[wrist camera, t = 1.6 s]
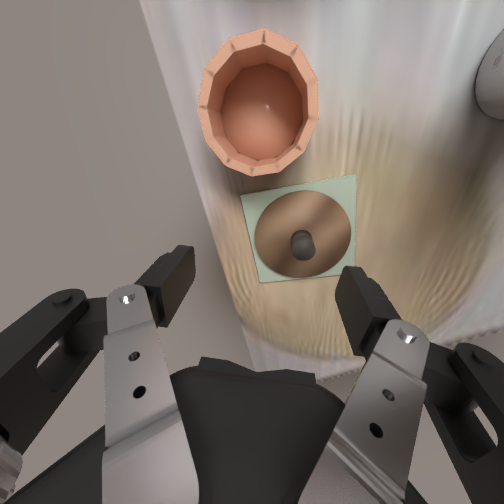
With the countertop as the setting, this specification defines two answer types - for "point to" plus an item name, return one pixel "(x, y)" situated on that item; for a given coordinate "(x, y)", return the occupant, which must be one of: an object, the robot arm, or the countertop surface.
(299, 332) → the countertop surface
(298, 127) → the bowl
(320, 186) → the mat
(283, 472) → the robot arm
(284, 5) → the countertop surface
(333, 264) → the lid
